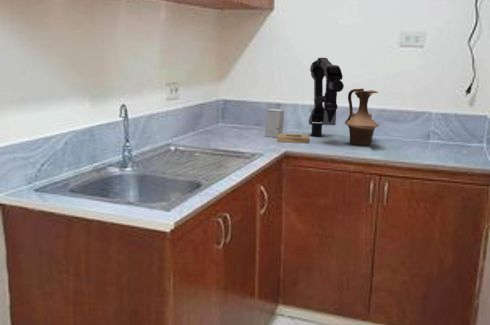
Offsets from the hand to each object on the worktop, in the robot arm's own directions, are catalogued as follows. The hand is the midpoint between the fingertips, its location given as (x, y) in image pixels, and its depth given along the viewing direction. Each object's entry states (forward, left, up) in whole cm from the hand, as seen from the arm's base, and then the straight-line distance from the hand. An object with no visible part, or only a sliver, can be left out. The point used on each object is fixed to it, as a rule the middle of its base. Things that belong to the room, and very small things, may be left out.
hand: (329, 121), depth 257 cm
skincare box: (-12, -29, -11) cm, 33 cm away
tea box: (-11, +17, -11) cm, 23 cm away
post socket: (0, -18, -11) cm, 21 cm away
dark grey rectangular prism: (0, 0, -2) cm, 2 cm away
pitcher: (+2, +16, -11) cm, 19 cm away
